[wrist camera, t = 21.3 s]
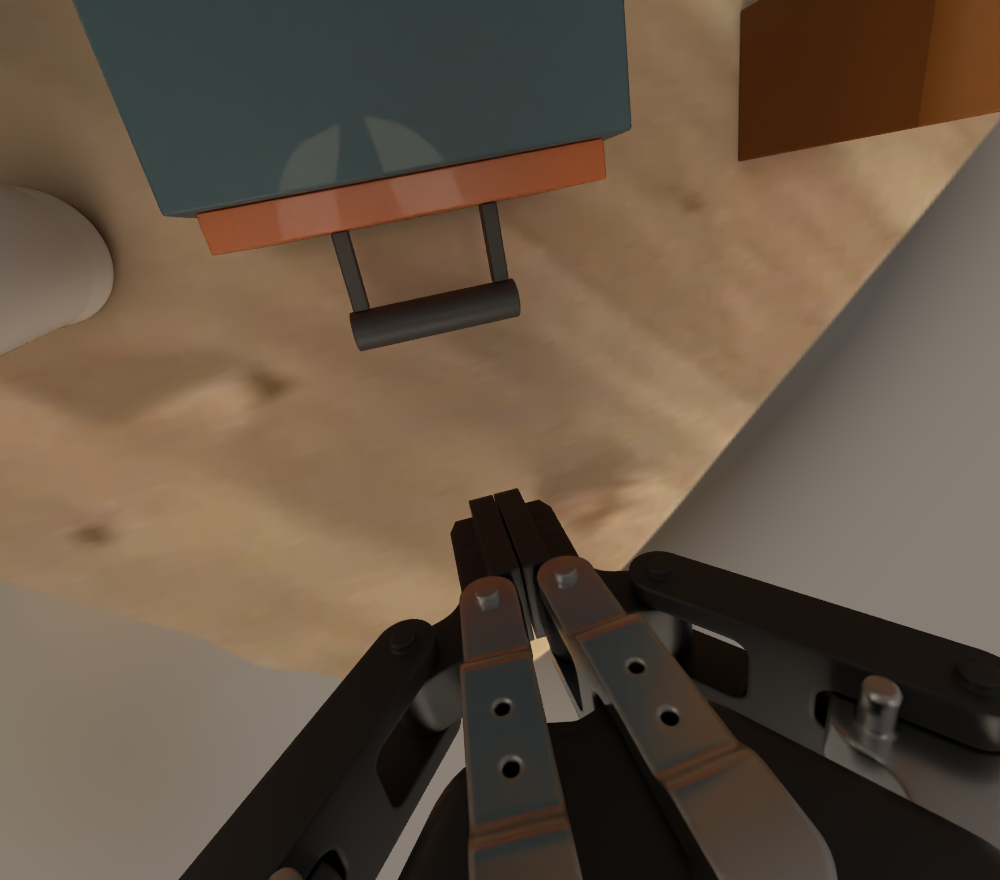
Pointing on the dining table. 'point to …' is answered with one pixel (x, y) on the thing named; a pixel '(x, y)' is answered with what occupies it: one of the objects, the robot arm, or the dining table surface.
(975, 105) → the bread
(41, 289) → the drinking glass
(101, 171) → the dining table surface
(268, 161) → the cabinet
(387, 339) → the drawer
